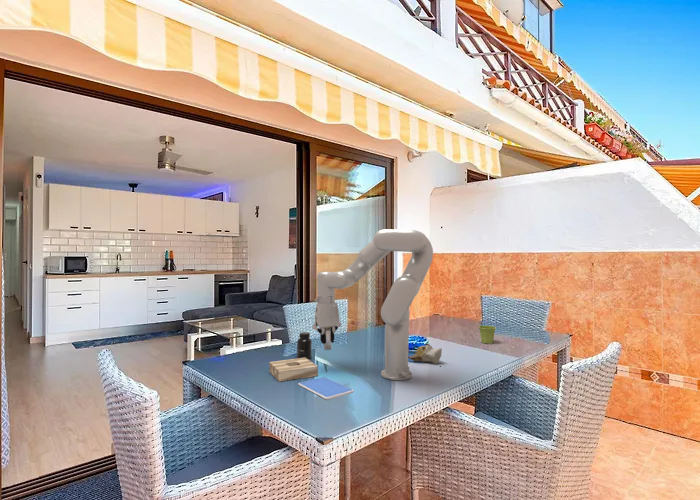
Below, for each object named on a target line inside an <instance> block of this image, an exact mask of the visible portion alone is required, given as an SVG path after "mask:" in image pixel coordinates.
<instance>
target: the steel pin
mask: <svg viewBox="0 0 700 500" xmlns="http://www.w3.org/2000/svg"><path fill="white" fill-rule="evenodd" d="M324 334H325V336H326V343H325V344H323V350H324V351H329V350H332V342H331V327H325V330H324Z"/></svg>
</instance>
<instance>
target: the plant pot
mask: <svg viewBox="0 0 700 500" xmlns="http://www.w3.org/2000/svg"><path fill="white" fill-rule="evenodd" d="M478 329H479V334H480V340H481V343H482V344H491V345H492V344H493V343H494V340H495V339H494V338H495V332H496V329H497V327H496V326H493V325H479V326H478Z"/></svg>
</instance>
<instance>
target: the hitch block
mask: <svg viewBox="0 0 700 500" xmlns="http://www.w3.org/2000/svg"><path fill="white" fill-rule="evenodd" d="M318 367H319V366H318V365H317V364H315V363H314V362H312V361H311V359H309V360H308V359H307V358H297V357H296V358H291V359H283V360H276V361H269V373H270V374H271V376H273V377H274V378H275V379H276V380H277V381H278V382H279V383H280V382H281V381H282V382H286V380H288V381H294V380H293V379H295V380H300V379H299V378H301V379H305V378H306V379H308V378H311V377H312V378H313V376H314V377H318V375H319V374H318V373H319V372H318V371H319V370H318Z"/></svg>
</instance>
